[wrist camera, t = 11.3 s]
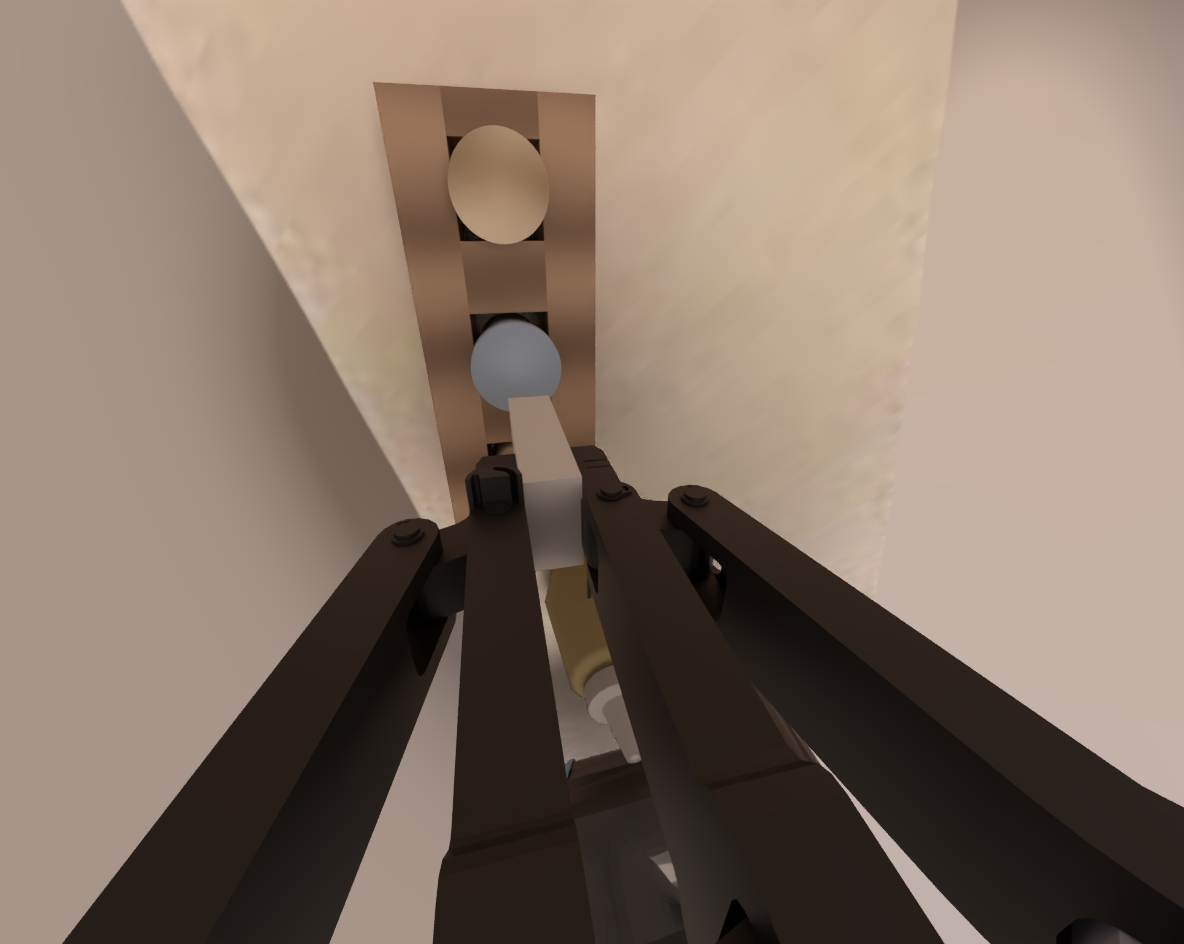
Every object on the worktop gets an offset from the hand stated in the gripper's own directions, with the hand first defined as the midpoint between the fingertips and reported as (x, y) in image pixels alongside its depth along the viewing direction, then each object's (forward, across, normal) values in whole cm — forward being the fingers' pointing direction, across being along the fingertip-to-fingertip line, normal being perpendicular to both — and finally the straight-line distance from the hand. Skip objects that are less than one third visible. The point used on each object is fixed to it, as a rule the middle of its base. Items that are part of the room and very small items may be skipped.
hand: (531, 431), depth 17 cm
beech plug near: (+16, 0, -9) cm, 18 cm away
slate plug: (+14, 0, -1) cm, 14 cm away
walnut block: (+17, 0, -1) cm, 17 cm away
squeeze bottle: (+18, -5, +22) cm, 29 cm away
